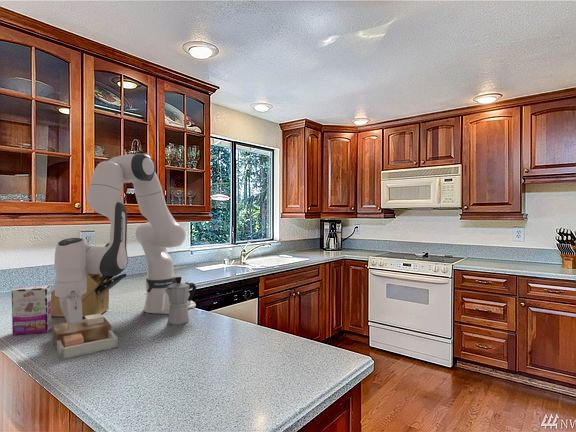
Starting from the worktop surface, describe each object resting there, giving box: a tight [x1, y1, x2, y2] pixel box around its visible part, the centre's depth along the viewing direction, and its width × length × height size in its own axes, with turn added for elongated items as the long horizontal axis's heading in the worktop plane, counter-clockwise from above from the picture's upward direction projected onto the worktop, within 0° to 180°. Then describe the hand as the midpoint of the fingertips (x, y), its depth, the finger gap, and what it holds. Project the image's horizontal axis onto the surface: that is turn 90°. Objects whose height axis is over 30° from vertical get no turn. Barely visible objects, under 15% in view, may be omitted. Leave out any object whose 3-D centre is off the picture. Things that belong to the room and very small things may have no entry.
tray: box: [56, 329, 119, 361], centre depth 117 cm, size 16×9×3 cm, turn 128°
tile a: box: [84, 313, 105, 325], centre depth 128 cm, size 5×5×2 cm
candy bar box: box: [11, 285, 53, 336], centre depth 132 cm, size 11×5×16 cm, turn 105°
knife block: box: [51, 241, 129, 318], centre depth 153 cm, size 11×35×31 cm, turn 88°
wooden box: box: [52, 315, 112, 350], centre depth 125 cm, size 16×12×5 cm
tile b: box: [63, 333, 84, 347], centre depth 115 cm, size 5×5×2 cm
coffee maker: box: [165, 276, 197, 326], centre depth 146 cm, size 15×9×18 cm, turn 143°
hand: (71, 331), depth 117 cm, fingers closed
